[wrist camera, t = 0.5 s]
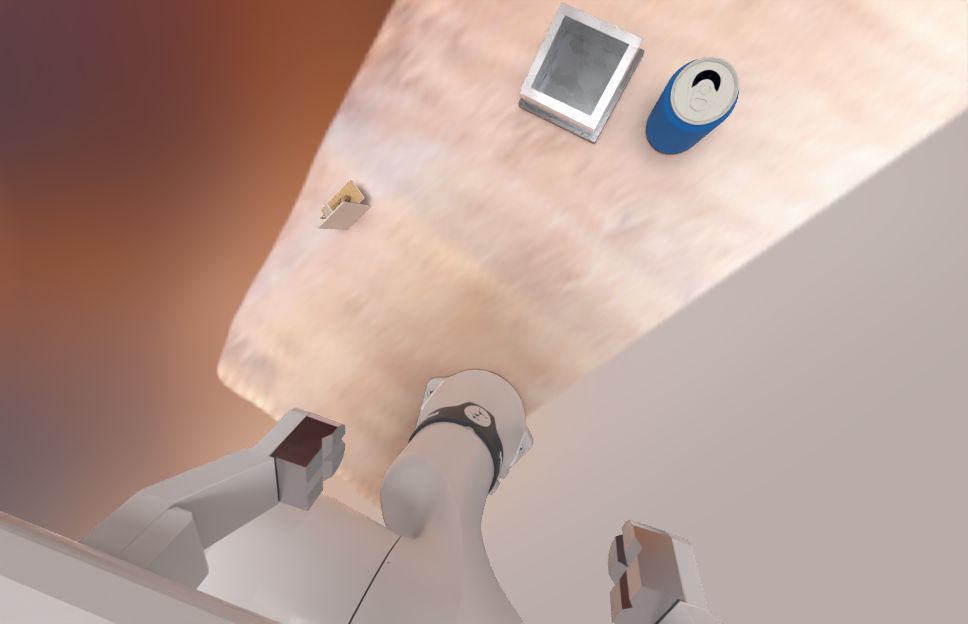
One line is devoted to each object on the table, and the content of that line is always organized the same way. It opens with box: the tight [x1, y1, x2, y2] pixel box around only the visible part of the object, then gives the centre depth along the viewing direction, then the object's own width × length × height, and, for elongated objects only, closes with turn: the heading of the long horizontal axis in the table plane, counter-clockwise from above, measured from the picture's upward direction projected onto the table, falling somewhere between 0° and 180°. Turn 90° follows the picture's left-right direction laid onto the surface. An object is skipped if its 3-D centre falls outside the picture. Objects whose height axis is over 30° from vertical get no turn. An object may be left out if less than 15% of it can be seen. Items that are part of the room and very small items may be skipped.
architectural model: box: [318, 180, 371, 229], centre depth 55 cm, size 3×7×7 cm, turn 128°
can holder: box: [518, 2, 644, 144], centre depth 45 cm, size 11×11×4 cm
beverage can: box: [646, 57, 739, 154], centre depth 40 cm, size 6×6×12 cm
